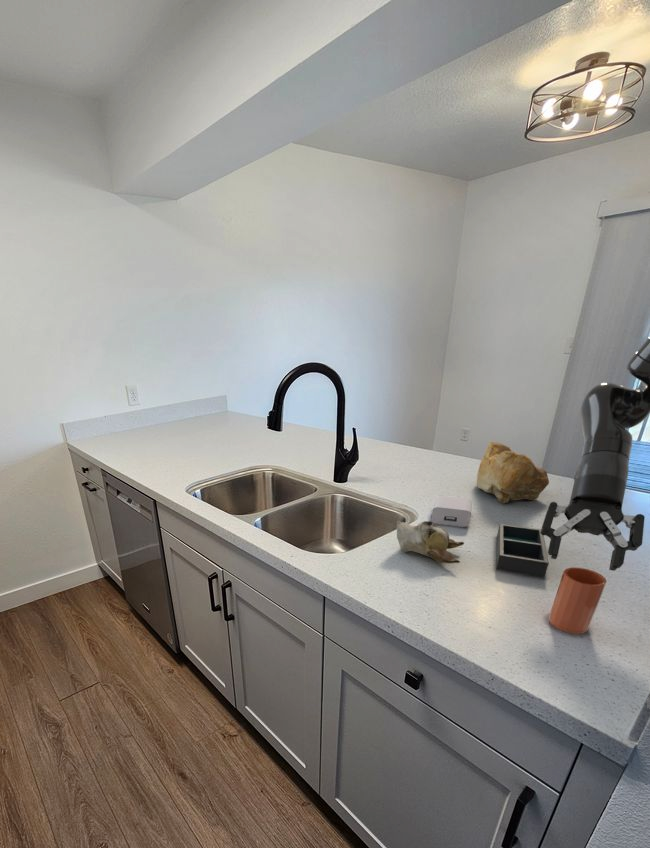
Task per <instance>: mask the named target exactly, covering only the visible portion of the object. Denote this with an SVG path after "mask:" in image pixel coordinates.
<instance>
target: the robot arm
mask: <svg viewBox="0 0 650 848" xmlns="http://www.w3.org/2000/svg"><path fill="white" fill-rule="evenodd" d="M625 368H626V371H627V372H628V374H630V375H631V376H632V377H634V378H635V379H637V380H639V381H640V383H639V385H638V386H637V388H635V389H634V388H632V387H631V388H630V387H627V386H623V385H621V384H617V383H613V382H601V383H598V384H596V385H594V386H592V388H591V389H589V390H588V391H587V393H586V394H585V395H584V397H583V399H582V402H581V404H580V421H581V428H582V434H583V440H584V444H583V448H582V453H581V456H580V461H579V464H578V466H577V469H576V472H575V475H574V478H573V480H574V482H573V486H572V491H571V495H570V499H569V503H568V505H567V506H564V505H559V504H558V503H557V502H556V501H552V502H550V503H549V505H548V508H547V510H546V514H545V516H544V520H543V523H542V526H541V534H542V535H544V536H546V537H547V538H549V539H550V540H549V545H548V550H547V555H548V556H550V559H552V560H557V559H558V556H559V552H560V546H561V543H562V537H564V536H565V535H568V534H569V533H571V532H572V531H574V530H575V531H577V533H580V534H591V535H592V536H597V537H598V536H600V535H602V536H603V537H604V538H605V540H606V541H607V542H609V543H610V544H611V546H612V547H613V550H612V552H611V557H610V563H609V567H608V570H609V571H612V572H613V571H614V572H615V571H616V570H618V569H620V568H621V567H623V565H624V563H625V558H626V557H625V556H626V551H631V552H634V551H637V550H638V549H639V548H640V547H641V546H642V545H643V540H644V529H645V527H644V526H645V515H644V514H641V513H638V514H636V515H631V514H630V515H629V514H624V513H623V510H622V509H623V508H622V507H623V503H624V498H625V494H626V488H627V482H628V477H629V472H630V471H629V470H630V469H629V468H630V467H629V465H630V458H631V457H630V456H631V453H632V447H633V434H631V432H630V431H629V430H628V429H631V428H634V427H636V426H638V425H640V424H641V423H642V422H644V421H645V420H646V419H647V417H649V416H650V335H649V336H648V337H647V339H646V340H645V341H644V342H643V343H642V344H641V346H639V348H638V349H637V350H636V352H635V353H633V355H632V356H631V357H630V359H629V360H628V361H627V363H626V366H625ZM561 514H564V517H565V518H566V519H567V521H565V523H563V524H562V525H561V526H559V527H558V528H556V529H554V528H553V527H552V524H553V521H554V518H558V517H559V516H560V515H561ZM621 523H624V524H625V527H626V528H628V529H629V536H628V540H626V539H625V538H624V535H622V531H621V530H620V528H619V527H618V525H619V524H621Z"/></svg>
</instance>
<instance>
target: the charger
mask: <svg viewBox="0 0 650 848" xmlns="http://www.w3.org/2000/svg"><path fill="white" fill-rule="evenodd" d="M472 506H473V501H472V500H471V499H470V498H467V497H460V496H458V495H457V496H455V495H437V496H435V498H434V502H433V506H432V511H431V512H432V513H431V519H430V521H431V522H432V524H437V525H438V524H439V525H445V526H451V527H461V528H466V527H469V525H470V522H471V518H472V509H473V507H472Z"/></svg>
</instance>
